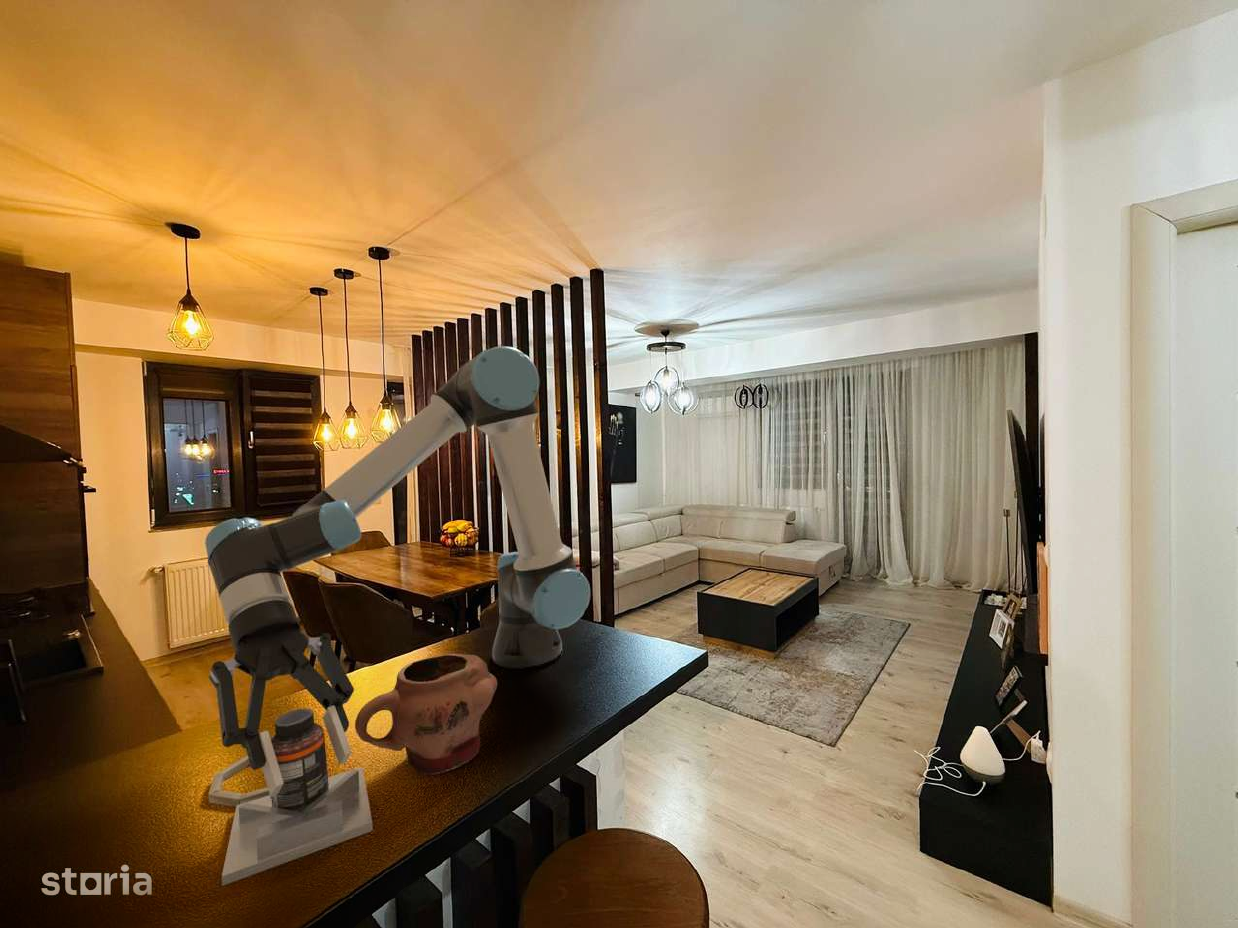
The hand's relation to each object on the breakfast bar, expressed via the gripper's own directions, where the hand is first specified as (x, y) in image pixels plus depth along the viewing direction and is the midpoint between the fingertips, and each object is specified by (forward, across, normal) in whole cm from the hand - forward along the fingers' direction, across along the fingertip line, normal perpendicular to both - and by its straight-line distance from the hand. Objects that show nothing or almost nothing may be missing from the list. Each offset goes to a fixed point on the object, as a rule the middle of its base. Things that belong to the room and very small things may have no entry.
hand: (312, 773), depth 61 cm
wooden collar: (-7, 0, -16) cm, 18 cm away
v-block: (+2, 0, -7) cm, 7 cm away
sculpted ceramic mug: (+5, -16, -5) cm, 17 cm away
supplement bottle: (+1, 0, -6) cm, 7 cm away
